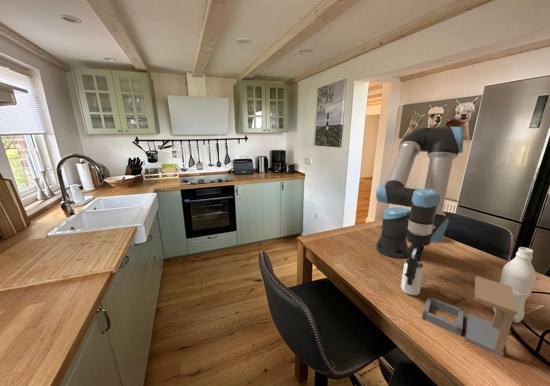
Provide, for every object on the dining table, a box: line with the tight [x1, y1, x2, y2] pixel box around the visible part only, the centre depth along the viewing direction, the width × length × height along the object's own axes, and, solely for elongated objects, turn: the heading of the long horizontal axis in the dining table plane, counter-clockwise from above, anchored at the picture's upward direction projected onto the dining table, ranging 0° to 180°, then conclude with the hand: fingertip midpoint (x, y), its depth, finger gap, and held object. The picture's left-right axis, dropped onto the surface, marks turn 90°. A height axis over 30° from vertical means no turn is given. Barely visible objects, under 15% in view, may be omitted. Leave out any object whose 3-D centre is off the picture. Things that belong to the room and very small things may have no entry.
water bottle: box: [492, 246, 537, 324], centre depth 71 cm, size 7×7×25 cm
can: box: [400, 259, 424, 296], centre depth 85 cm, size 6×6×12 cm
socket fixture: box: [421, 275, 517, 358], centre depth 69 cm, size 19×13×15 cm
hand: (410, 286), depth 86 cm, fingers closed on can, 6 cm apart
